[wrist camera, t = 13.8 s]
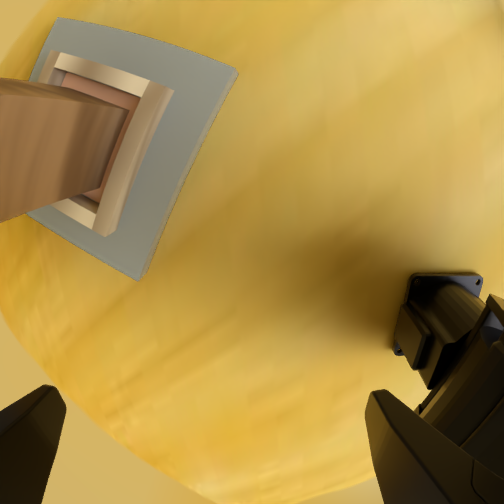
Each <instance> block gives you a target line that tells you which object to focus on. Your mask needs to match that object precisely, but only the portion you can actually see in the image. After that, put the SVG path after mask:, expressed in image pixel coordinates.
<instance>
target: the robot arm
mask: <svg viewBox="0 0 504 504" xmlns="http://www.w3.org/2000/svg"><path fill="white" fill-rule="evenodd" d="M416 279H418V282H417V283H415V284H414V281H415V280H416ZM477 280H478V281H477ZM476 281H477V282H476ZM482 283H483V278H482V277H481V276H480V275H479V274H429V273H416V274H413V275H411V277H410V278H409V281H408V286H407V291H406V296H405V300H404V303H403V304H402V305H401V308H400V312H399V317H398V321H397V325H396V329H395V333H394V336H395V341H394V344H393V349H392V350H393V352H394V354H395V355H396V356H404V355H405V357H406V359H407V361H408V363H409V365H410V367H411V368H412V369H413V370H414V371H415V370H418V372H419V374H420V375H421V377H422V379H423V381H424V383H425V385H426V387H427V389H428V390H432V391H431V392H430V393H429V395H428V396H427V397H426V398H425V400H424V401H423V402H422V404H419V405H418V406H417V408H416V409H415V410H414V411H413V410H411V409H410V408H409V407H408V406H406V405H405V404H404V403H402V402H401V401H400V400H399V399H397V398H396V397H395V396H394V395H392V394H391V393H390V392H389V391H387V390H385V389H382V390H376V391H372V392H371V393H370V395H369V399H368V402H367V406H366V410H365V421H366V426H367V432H368V438H369V444H370V450H371V456H372V461H373V466H374V470H375V473H376V477H377V480H378V484H379V487H380V491H381V494H382V498H383V501H384V504H504V299H502V298H499V297H497V296H495V295H492V294H489V296H488V298H487V300H486V304H485V303H484V302H483V301H482V300H481V299H480V298H479V294H480V291H481V287H482ZM399 348H401V349H400V350H398V349H399ZM65 414H66V404H65V402H64V401H63V399H62V397H61V395H60V393H59V391H58V390H57V388H56V387H54V386H51V385H42V386H41V387H39V388H37V389H36V390H34V391H32V392H31V393H29V394H27V395H26V396H24V397H23V398H21V399H19V400H18V401H16V402H14V403H13V404H11V405H9V406H8V407H6V408H5V409H3V410H2V411H0V504H41V503H42V499H43V496H44V492H45V489H46V485H47V482H48V478H49V475H50V472H51V468H52V465H53V462H54V459H55V456H56V453H57V449H58V445H59V440H60V436H61V431H62V427H63V423H64V419H65Z"/></svg>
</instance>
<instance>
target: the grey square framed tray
mask: <svg viewBox="0 0 504 504" xmlns="http://www.w3.org/2000/svg"><path fill="white" fill-rule="evenodd" d="M237 76H238V72H237V70H236V68H234V67H231V66H229V65H227V64H224V63H222V62H219V61H217V60H214V59H211V58H209V57H206V56H203V55H201V54H198V53H195V52H193V51H190V50H187V49H184V48H181V47H178V46H175V45H172V44H169V43H166V42H163V41H159V40H156V39H153V38H149V37H146V36H142V35H139V34H135V33H131V32H128V31H124V30H120V29H116V28H111V27H107V26H103V25H98V24H93V23H88V22H83V21H78V20H72V19H66V18H60V17H58V18H57V20H56V21H55V23H54V25H53V27H52V29H51V31H50V33H49V35H48V37H47V39H46V41H45V43H44V46H43V48H42V50H41V52H40V54H39V57H38V59H37V61H36V64H35V66H34V68H33V71H32V73H31V76H30V78H29V81H31V82H38V83H44V84H50V85H56V86H62V87H67V88H71V89H74V90H77V91H80V92H83V93H85V94H88V95H91V96H94V97H96V98H99V99H102V100H104V101H107V102H109V103H112V104H115V105H117V106H120V107H122V108H125V109H127V110H130V111H129V113H128V115H127V118H126V120H125V122H124V125H123V127H122V130H121V132H120V134H119V137H118V139H117V142H116V145H115V147H114V150H113V152H112V155H111V158H110V160H109V163H108V166H107V169H106V172H105V174H104V177H103V180H102V183H101V186H100V188H98V189H95V190H92V191H88V192H85V193H82V194H79V195H76V196H73V197H70V198H67V199H64V200H61V201H58V202H55V203H52V204H49V205H46V206H44V207H41V208H38V209H35V210H32V211H30V212H27V213H25V214H27V215H28V216H30V217H31V218H33V219H34V220H36V221H38V222H39V223H41V224H42V225H44V226H45V227H47V228H48V229H50V230H51V231H53V232H55V233H56V234H58V235H59V236H61V237H63V238H64V239H66V240H67V241H69V242H71V243H72V244H74V245H76V246H77V247H79V248H81V249H82V250H84V251H86V252H87V253H89V254H91V255H92V256H94V257H96V258H97V259H99V260H101V261H103V262H104V263H106V264H108V265H109V266H111V267H113V268H115V269H116V270H118V271H120V272H122V273H124V274H125V275H127V276H129V277H131V278H133V279H134V280H136V281H139V280H140V279H141V278H142V277H143V276H144V275H145V274H146V273H147V270H148V268H149V265H150V262H151V260H152V257H153V255H154V252H155V250H156V247H157V245H158V242H159V240H160V237H161V235H162V232H163V230H164V227H165V225H166V223H167V220H168V218H169V216H170V213H171V211H172V209H173V206H174V204H175V202H176V199H177V197H178V195H179V193H180V190H181V188H182V186H183V184H184V181H185V179H186V177H187V175H188V173H189V171H190V168H191V166H192V164H193V162H194V160H195V158H196V156H197V154H198V152H199V149H200V147H201V145H202V143H203V141H204V139H205V137H206V135H207V133H208V131H209V129H210V127H211V125H212V123H213V121H214V119H215V117H216V115H217V113H218V112H219V110H220V108H221V106H222V104H223V102H224V100H225V98H226V96H227V94H228V93H229V91H230V89H231V87H232V85H233V83H234V82H235V80H236V78H237Z"/></svg>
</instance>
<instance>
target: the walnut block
mask: <svg viewBox="0 0 504 504" xmlns="http://www.w3.org/2000/svg"><path fill="white" fill-rule="evenodd" d="M129 111H130V110H127V109H125V108H122V107H120V106H117V105H115V104H112V103H109V102H107V101H104V100H102V99H99V98H96V97H94V96H91V95H88V94H85V93H83V92H80V91H77V90H74V89H71V88H67V87H62V86H56V85H50V84H44V83H38V82H31V81H24V80H16V79H7V78H0V223H1V222H4V221H6V220H9V219H11V218H14V217H17V216H19V215H22V214H24V213H27V212H30V211H32V210H35V209H38V208H41V207H44V206H46V205H49V204H52V203H55V202H58V201H61V200H64V199H67V198H70V197H73V196H76V195H79V194H82V193H85V192H88V191H92V190H95V189H98V188H100V186H101V183H102V180H103V177H104V174H105V172H106V169H107V166H108V163H109V160H110V158H111V155H112V152H113V150H114V147H115V145H116V142H117V139H118V137H119V134H120V132H121V130H122V127H123V125H124V122H125V120H126V118H127V115H128V113H129Z"/></svg>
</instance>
